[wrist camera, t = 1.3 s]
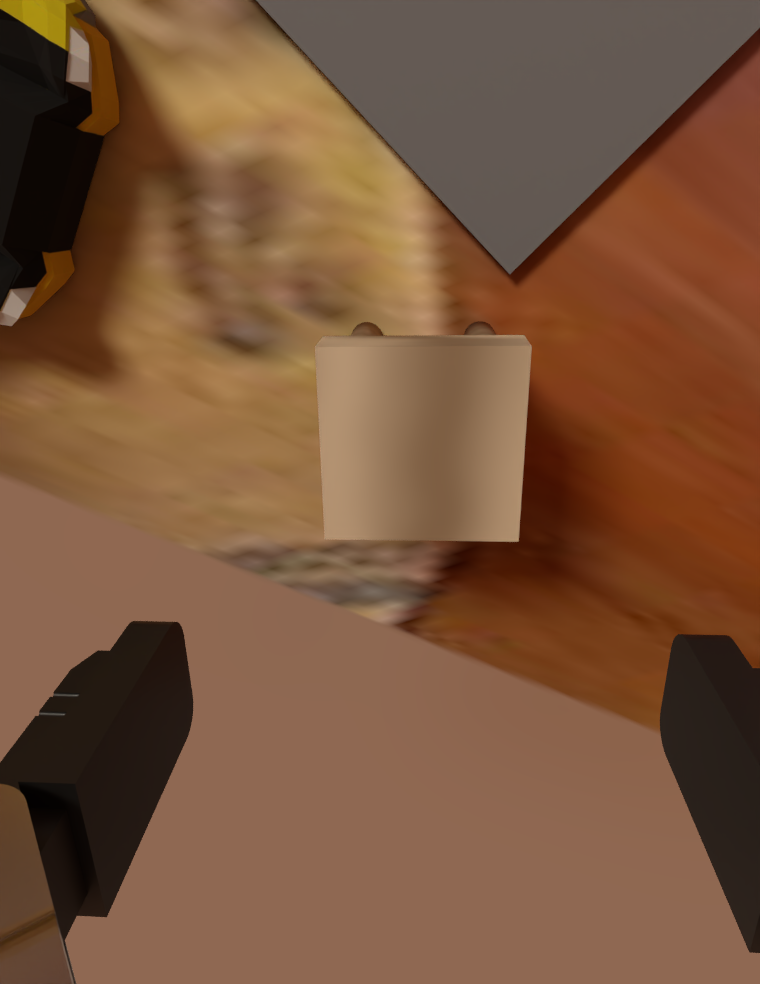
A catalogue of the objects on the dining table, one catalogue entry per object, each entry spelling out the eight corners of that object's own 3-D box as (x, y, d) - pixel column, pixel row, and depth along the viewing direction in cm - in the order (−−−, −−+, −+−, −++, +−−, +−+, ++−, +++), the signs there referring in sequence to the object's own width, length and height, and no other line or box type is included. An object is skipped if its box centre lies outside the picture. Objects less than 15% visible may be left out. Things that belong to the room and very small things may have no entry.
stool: (346, 465, 30) (324, 539, 24) (341, 312, 28) (315, 346, 21) (498, 466, 30) (518, 542, 23) (506, 310, 27) (531, 346, 21)
